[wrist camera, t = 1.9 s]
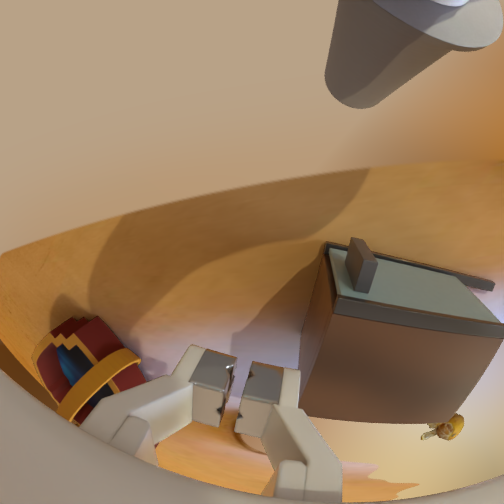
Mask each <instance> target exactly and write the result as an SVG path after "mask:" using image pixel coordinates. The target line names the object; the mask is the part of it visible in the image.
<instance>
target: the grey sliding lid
mask: <svg viewBox="0 0 504 504" xmlns="http://www.w3.org/2000/svg"><path fill="white" fill-rule="evenodd" d="M329 256H330V261H331V265H332V270H333V275H334V280H335V284H336V289H337V294H340V295H345V296H350V297H355V298H360V299H365V300H370V301H376V302H381V303H386V304H392V305H397V306H403V307H408V308H414V309H419V310H425V311H430V312H436V313H442V314H448V315H454V316H460V317H466V318H472V319H478V320H484V321H491V322H497V323H501V322H500V321H499V320H498V319H497V318H496V317H495V316H494V315H493V314H492V312H491V311H490V310H489V309H488V308H487V307H486V306H485V305H484V304H483V303H482V302H481V301H480V300H479V299H478V298H477V297H476V296H475V295H474V294H473V293H472V292H471V291H470V290H469V289H468V288H467V287H466V286H465V285H464V284H463V283H462V282H461V281H460V280H459V279H458V278H456V277H455V276H451V275H447V274H443V273H439V272H434V271H430V270H426V269H422V268H418V267H413V266H409V265H405V264H400V263H396V262H392V261H387V260H383V259H379V258H375V257H374V255H373V254H372V252H371V251H370V249H369V248H368V246H367V245H366V243H365V242H364V240H362V239H358V238H353V237H351V240H350V244H349V248H348V252H347V251H343V250H338V249H333V248H330V249H329Z"/></svg>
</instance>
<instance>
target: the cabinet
mask: <svg viewBox="0 0 504 504" xmlns="http://www.w3.org/2000/svg"><path fill="white" fill-rule="evenodd" d="M330 248H333V249H338V250H343V251H347V252H348V248H349V246H346V245H341V244H337V243H332V242H327V241H326V244H325V248H324V253H323V256H322V260H321V264H320V268H319V272H318V276H317V279H316V283H315V287H314V290H313V294H312V298H311V301H310V305H309V308H308V312H307V315H306V319H305V322H304V326H303V329H302V332H301V339H300V353H299V366H298V370H300V372H301V375H300V388H299V400H298V408H299V409H303V410H304V412H305V413H306V415H307V416H310V417H317V418H325V419H333V420H344V421H355V422H369V423H391V424H425V423H447V422H448V421H449V420H450V419H451V418H452V416H453V415H454V414H455V413H456V411H457V410H458V409H459V407H460V406H461V405H462V403H463V402H464V401H465V399H466V398H467V396H468V395H469V394H470V393H471V391H472V390H473V388H474V387H475V385H476V384H477V382H478V381H479V380H480V378H481V377H482V375H483V373H484V372H485V370H486V369H487V367H488V366H489V364H490V362H491V361H492V359H493V357H494V356H495V354H496V352H497V350H498V349H499V347H500V345H501V343H502V341H503V339H504V323H497V322H491V321H484V320H478V319H472V318H466V317H460V316H454V315H448V314H442V313H436V312H430V311H425V310H419V309H414V308H408V307H403V306H397V305H392V304H386V303H381V302H376V301H370V300H365V299H360V298H355V297H350V296H345V295H340V294H337V289H336V284H335V280H334V275H333V270H332V265H331V261H330V256H329V249H330ZM371 252H372V251H371ZM372 254H373V255H374V257H375V258H379V259H383V260H387V261H392V262H396V263H400V264H405V265H409V266H413V267H418V268H422V269H426V270H430V271H434V272H439V273H443V274H447V275H451V276H455V277H456V278H458V279H459V280H460V281H461V282H462V283H463V284H464V285H466V286H471V287H475V288H479V289H483V290H487V291H493V288H494V286H495V283H494V282H493V281H490V280H486V279H482V278H478V277H475V276H471V275H467V274H463V273H459V272H455V271H451V270H447V269H443V268H439V267H435V266H431V265H427V264H423V263H419V262H415V261H411V260H406V259H402V258H398V257H394V256H390V255H385V254H381V253H377V252H372Z"/></svg>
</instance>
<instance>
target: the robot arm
mask: <svg viewBox="0 0 504 504" xmlns="http://www.w3.org/2000/svg"><path fill="white" fill-rule="evenodd" d="M431 1H434V2H436V3H439V4H442V5H447V6H462V5H464V4H466V3H467V2H468V1H469V0H431ZM236 365H237V357H234V356H231V355H227V354H224V353H220V352H217V351H213V350H210V349H206V348H202V347H199V346H196V345H193V344H192V345H190V346H189V347H188V349H187V350H186V352H185V354H184V355H183V357H182V358H181V360H180V362H179V363H178V365H177V366H176V368H175V370H174V371H173V373H172V374H171V376H169V375H164V376H161V377H159V378H156V379H154V380H151V381H149V382H146V383H144V384H141V385H138V386H136V387H133V388H130V389H128V390H125V391H122V392H120V393H117V394H114V395H111V396H108V397H105V398H103V399H101V400H100V402H99V403H98V404H97V405H96V407H95V408H94V409H93V410H92V412H91V413H90V414H89V415H88V417H87V418H86V419H85V420H84V422H83V423H82V424H81V425H80V427H77V426H76V425H74V424H73V423H71V422H69V421H68V420H66V419H65V418H63V417H62V416H60V415H59V414H57V413H56V412H54V411H53V410H51V409H50V408H48V407H47V406H45V405H44V404H43V403H42V402H40V401H39V400H37V399H36V398H35V397H33V396H32V395H31V394H30V393H28V392H27V391H26V390H24V389H23V388H22V387H21V386H20V385H18V384H17V383H16V382H15V381H14V380H12V379H11V378H10V377H9V376H8V375H7V374H6V373H4V372H3V371H2V370H1V369H0V504H504V475H501V476H498V477H495V478H493V479H490V480H487V481H484V482H480V483H477V484H474V485H471V486H467V487H463V488H460V489H456V490H451V491H447V492H443V493H438V494H433V495H427V496H422V497H415V498H408V499H400V500H391V501H378V502H354V503H342V463H341V462H340V461H339V459H338V458H337V457H336V455H335V454H334V452H333V451H332V450H331V448H330V447H329V446H328V444H327V443H326V442H325V440H324V439H323V437H322V436H321V435H320V433H319V432H318V430H317V429H316V428H315V426H314V425H313V423H312V422H311V421H310V419H309V418H308V416H307V415H306V413H305V412H304V410H303V409H299V408H298V400H299V388H300V375H301V372H300V370H297V369H291V368H285V367H284V368H283V367H279V366H274V365H269V364H264V363H260V362H255V361H252V364H251V367H250V371H249V375H248V379H247V380H246V384H245V387H244V391H243V394H242V398H241V402H240V406H239V413H238V417H237V420H236V425H235V430H234V432H238V433H241V434H245V435H250V436H253V437H258V438H261V442H262V444H263V446H264V449H265V451H266V453H267V455H268V458H269V460H270V462H271V464H272V467H273V469H274V471H275V472H274V473H273V475H272V477H271V478H270V480H269V482H268V483H267V485H266V487H265V488H264V490H263V491H262V493H261V495H257V494H252V493H247V492H242V491H237V490H233V489H229V488H225V487H221V486H217V485H213V484H209V483H206V482H202V481H199V480H196V479H192V478H189V477H186V476H183V475H180V474H177V473H175V472H172V471H169V470H166V469H164V468H161V467H158V465H159V464H158V460H157V456H156V451H155V446H154V445H155V444H157V443H159V442H160V441H162V440H164V439H165V438H167V437H169V436H170V435H172V434H173V433H175V432H177V431H178V430H180V429H181V428H183V427H185V426H186V425H188V424H189V423H191V422H192V420H193V421H196V422H200V423H203V424H207V425H211V426H215V427H219V425H220V422H221V419H222V417H223V414H224V410H225V404H226V403H227V402H228V400H229V397H230V394H231V390H232V387H233V382H234V377H235V376H234V372H235V369H236Z"/></svg>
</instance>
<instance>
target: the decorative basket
mask: <svg viewBox="0 0 504 504" xmlns="http://www.w3.org/2000/svg"><path fill="white" fill-rule="evenodd" d="M31 358H32V361H33V364H34V367H35V369H36V371H37V374H38V376H39V378H40V380H41V382H42V384H43V386H44V388H45V389H46V390H47V391H48V392H49V393H50V395H51V397H52V398H53V399H54V400H55V401H56V403H57V405H58V409H57V411H56V413H57V414H59V415H60V416H62V417H63V418H65V419H66V420H68V421H69V422H71V421H72V420H73V421H74V422H76V423H77V424H74V425H76V426H77V427H80V425H81V424H82V423H83V422H84V420H85V419H86V418H87V417H88V415H89V414H90V413H91V412H92V410H93V409H94V408H95V407H96V405H97V404H98V403H99V402H100V400H101V399H103V398H105V397H108V396H111V395H114V394H117V393H120V392H122V391H125V390H128V389H130V388H133V387H136V386H138V385H141V384H144V383H146V380H145V378H144V376H143V374H142V373H141V371H140V369H139V368H138V365H139V363H140V362H141V359H140V358H139V357H138V356H137V355H135V354H134V353H133V352H132V351H131V350H129V349H128V348H125V347H124V346H123V344H122V343H121V342H120V341H119V339H118V338H117V337H116V336H115V335H114V333H113V332H112V331H111V330H110V329H109V328H108V326H107V325H106V324H105V323H104V322H103V321H102V320H101V319H100V318H99V317H98V316H97V317H95V318H94V319H92V320H91V321H90V322H88V321H87V320H86V319H85V318H84V317H83V318H82V319H80V320H79V321H76V320H75V319H74V318H73V317H71V318H70V319H68V320H67V321H65V322H64V323H62V324H61V325H59V326H58V327H56V328H55V329H54V330H52V331H51V332H49V333H48V334H47V335H46V336H45V337H44V338H43V339H42V340H41V342H40V343H39V344H38V345H37V347H36V348H35V350H34V352H33V354H32V357H31ZM158 444H159V443H157V444H155V445H154V446H155V449H156V447H157V445H158Z"/></svg>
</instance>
